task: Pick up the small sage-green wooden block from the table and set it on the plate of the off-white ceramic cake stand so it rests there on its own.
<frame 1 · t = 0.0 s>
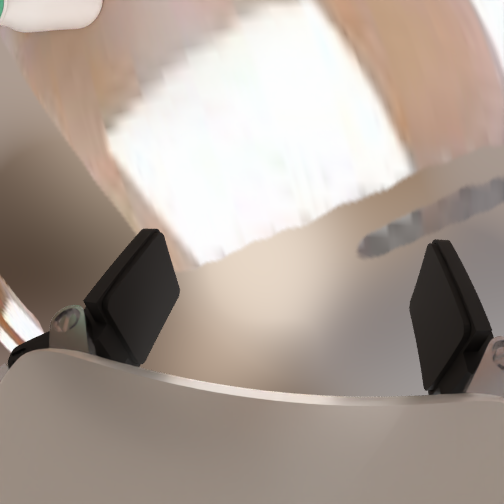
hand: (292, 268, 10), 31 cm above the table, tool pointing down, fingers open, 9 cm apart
milk bottle: (87, 7, 28), on the table
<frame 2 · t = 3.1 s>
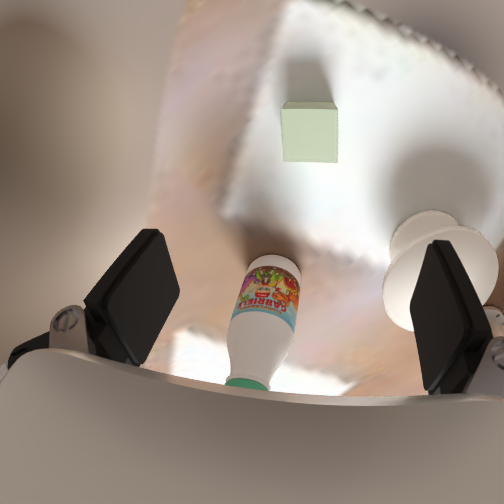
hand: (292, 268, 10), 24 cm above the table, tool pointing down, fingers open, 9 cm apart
cake stand: (427, 246, 35), on the table
block: (311, 123, 29), on the table
milk bottle: (274, 273, 43), on the table
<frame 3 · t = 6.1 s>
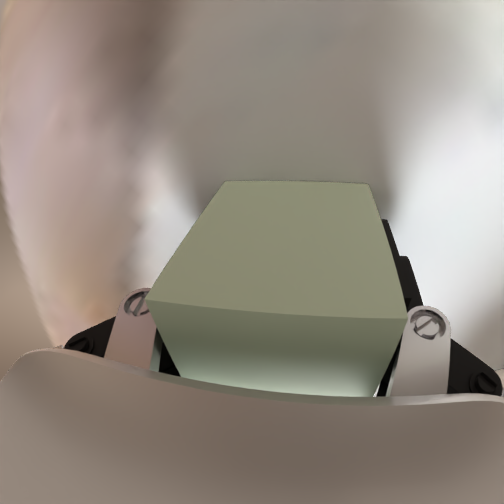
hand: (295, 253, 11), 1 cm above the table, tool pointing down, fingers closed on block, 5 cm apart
block: (296, 242, 11), on the table, touching gripper
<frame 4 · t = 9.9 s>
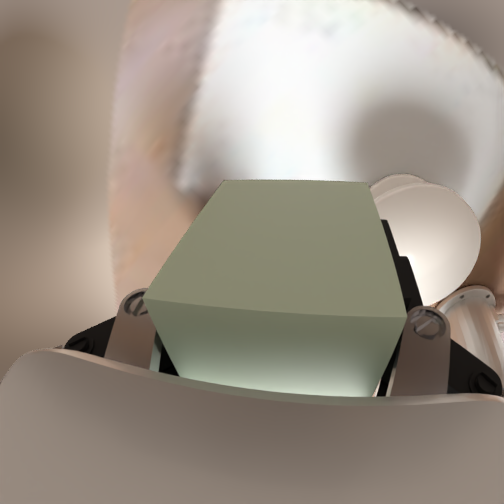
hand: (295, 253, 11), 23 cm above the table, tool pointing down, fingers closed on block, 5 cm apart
cake stand: (399, 215, 33), on the table
block: (295, 241, 11), point 22 cm above the table, touching gripper
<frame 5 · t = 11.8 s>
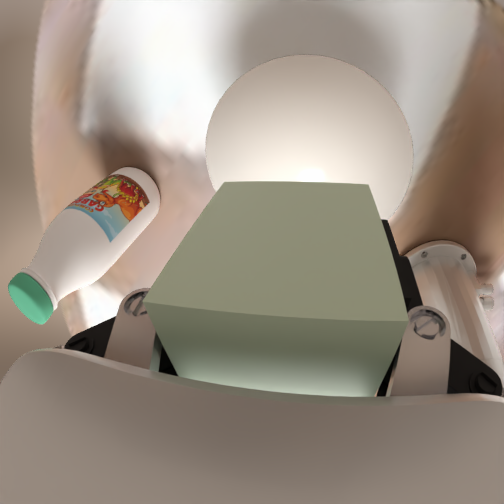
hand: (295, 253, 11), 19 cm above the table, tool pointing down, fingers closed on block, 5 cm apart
cake stand: (311, 135, 26), on the table
block: (296, 243, 11), point 19 cm above the table, touching gripper
milk bottle: (136, 193, 34), on the table
when the fingers open (10 cm above the table, at t = 13.7 s): block drops 2 cm, resting on cake stand.
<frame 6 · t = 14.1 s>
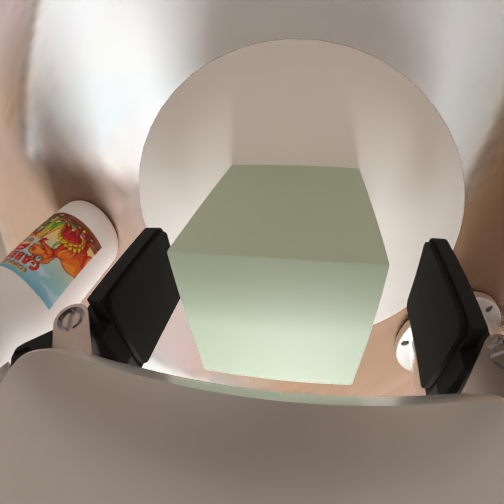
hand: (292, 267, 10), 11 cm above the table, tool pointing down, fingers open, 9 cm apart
cake stand: (306, 161, 19), on the table, touching block
block: (295, 221, 13), point 8 cm above the table, touching cake stand
milk bottle: (91, 230, 27), on the table
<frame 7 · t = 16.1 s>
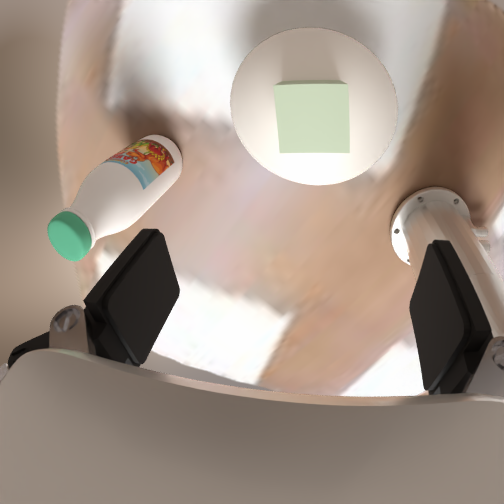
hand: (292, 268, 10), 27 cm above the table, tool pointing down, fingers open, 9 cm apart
cake stand: (314, 97, 30), on the table, touching block
block: (312, 107, 23), point 8 cm above the table, touching cake stand
milk bottle: (159, 159, 38), on the table
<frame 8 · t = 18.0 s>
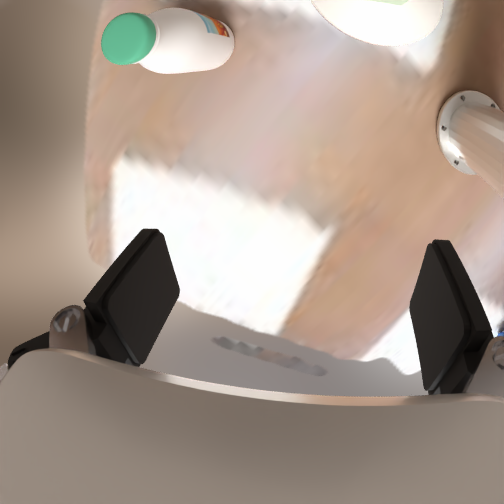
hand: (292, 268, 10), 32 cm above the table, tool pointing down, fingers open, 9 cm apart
milk bottle: (208, 44, 32), on the table
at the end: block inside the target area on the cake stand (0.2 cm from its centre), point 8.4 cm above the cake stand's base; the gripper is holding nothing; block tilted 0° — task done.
